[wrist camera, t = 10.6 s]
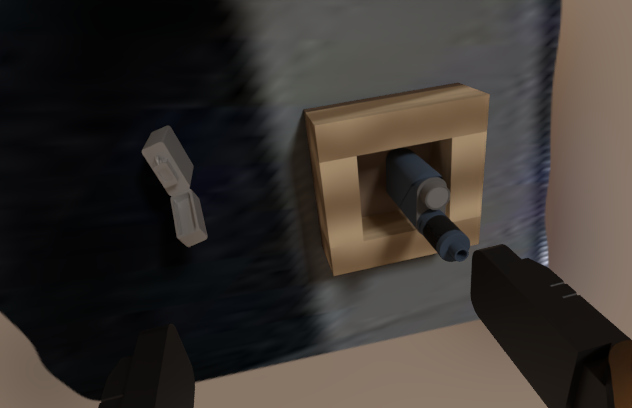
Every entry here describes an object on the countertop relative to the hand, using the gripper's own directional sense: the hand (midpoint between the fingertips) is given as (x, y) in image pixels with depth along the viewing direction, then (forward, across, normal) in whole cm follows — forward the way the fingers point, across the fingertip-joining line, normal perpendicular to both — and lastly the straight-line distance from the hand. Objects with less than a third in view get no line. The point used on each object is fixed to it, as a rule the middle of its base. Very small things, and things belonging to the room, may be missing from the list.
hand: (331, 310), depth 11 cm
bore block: (+26, -10, +9) cm, 29 cm away
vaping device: (+25, -11, +9) cm, 29 cm away
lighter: (+26, +8, +5) cm, 28 cm away
